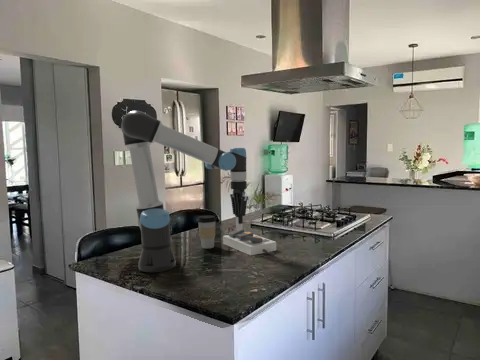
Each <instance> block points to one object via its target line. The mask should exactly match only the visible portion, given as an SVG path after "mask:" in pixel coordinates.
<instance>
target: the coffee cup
mask: <svg viewBox="0 0 480 360" xmlns="http://www.w3.org/2000/svg"><path fill="white" fill-rule="evenodd" d="M216 222H217V217H216V216H215V215H210V214H209V215H208V214H207V215H206V214H205V215H200V216H199V217H198V218H197V223H198V230H199V232H198V234H199V238H200V243H201V248H202V249H205V250H206V249H212V248H214V247H215V236H216Z"/></svg>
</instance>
